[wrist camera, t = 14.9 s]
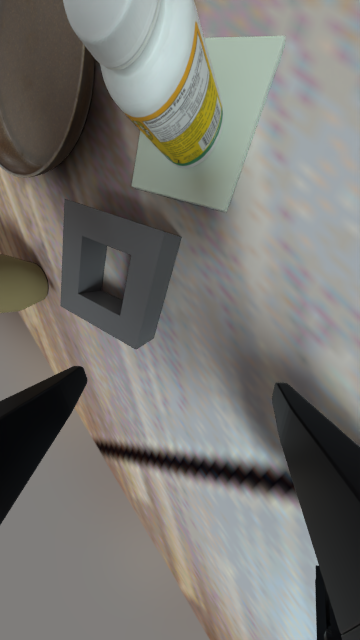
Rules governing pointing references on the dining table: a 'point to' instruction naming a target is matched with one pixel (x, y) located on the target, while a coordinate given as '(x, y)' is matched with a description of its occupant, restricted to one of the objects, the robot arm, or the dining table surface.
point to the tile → (237, 132)
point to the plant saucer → (40, 86)
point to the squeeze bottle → (20, 284)
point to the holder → (88, 268)
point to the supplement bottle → (155, 70)
